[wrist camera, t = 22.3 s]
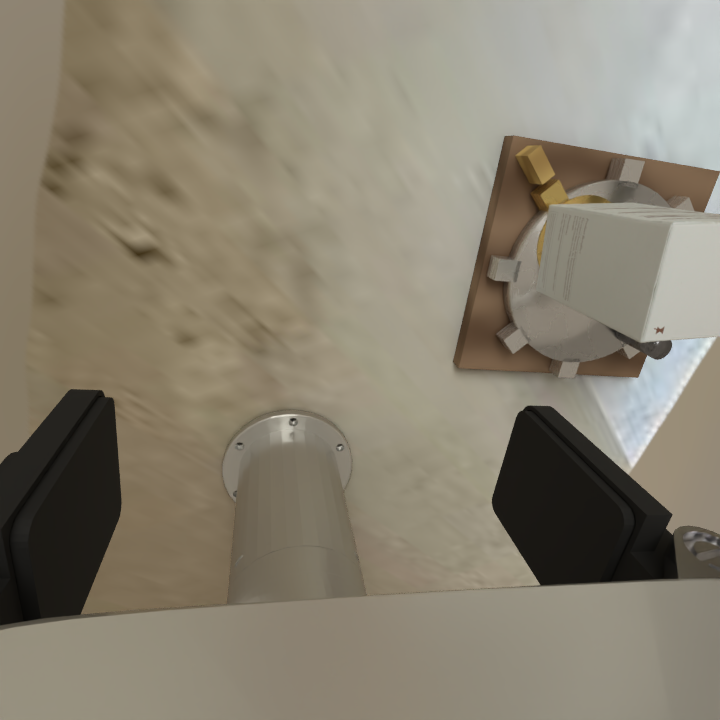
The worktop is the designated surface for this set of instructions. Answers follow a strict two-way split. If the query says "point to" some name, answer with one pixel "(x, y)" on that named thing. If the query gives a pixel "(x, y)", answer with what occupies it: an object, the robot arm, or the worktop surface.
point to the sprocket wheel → (549, 317)
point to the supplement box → (635, 268)
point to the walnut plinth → (511, 214)
